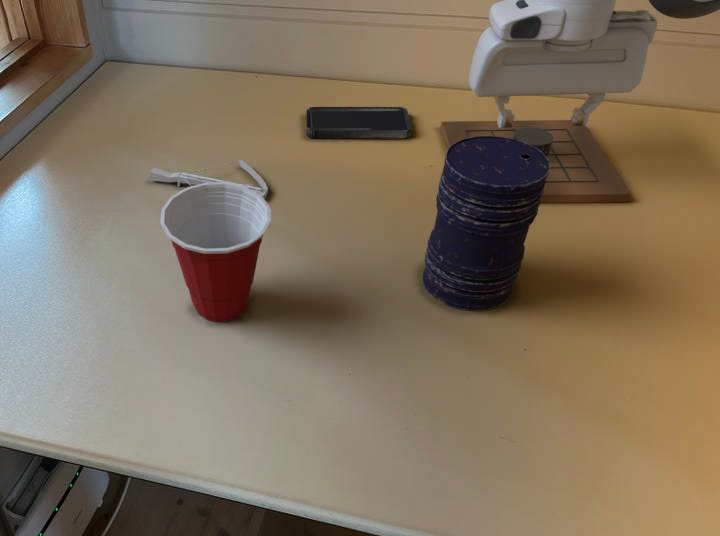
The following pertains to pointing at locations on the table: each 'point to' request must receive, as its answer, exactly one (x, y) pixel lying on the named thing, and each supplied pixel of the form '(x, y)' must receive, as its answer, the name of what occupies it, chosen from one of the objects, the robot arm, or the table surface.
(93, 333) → the table surface
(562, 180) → the board
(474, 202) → the dark blue cylinder
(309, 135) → the phone
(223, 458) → the table surface
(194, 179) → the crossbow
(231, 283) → the plastic cup
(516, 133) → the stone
